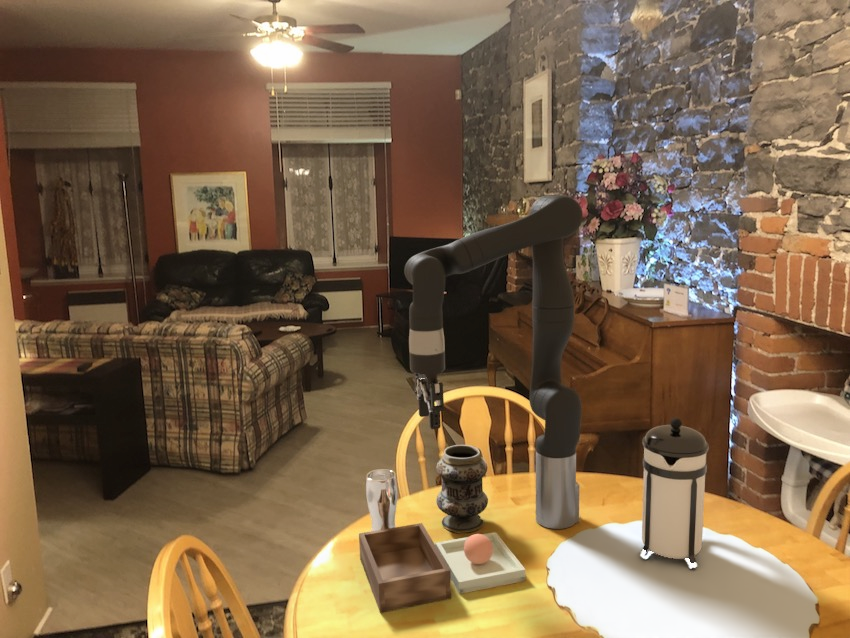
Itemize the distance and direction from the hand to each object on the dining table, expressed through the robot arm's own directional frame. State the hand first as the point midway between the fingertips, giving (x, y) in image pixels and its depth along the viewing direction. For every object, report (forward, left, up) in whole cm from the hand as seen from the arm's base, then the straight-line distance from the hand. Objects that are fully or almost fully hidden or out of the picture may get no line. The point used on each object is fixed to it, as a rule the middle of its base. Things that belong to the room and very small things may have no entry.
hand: (429, 422), depth 150 cm
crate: (+10, +12, -28) cm, 32 cm away
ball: (-6, +13, -24) cm, 28 cm away
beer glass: (+10, -6, -28) cm, 31 cm away
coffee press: (-47, +20, -28) cm, 58 cm away
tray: (-6, +13, -28) cm, 32 cm away
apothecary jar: (-9, -6, -28) cm, 30 cm away
